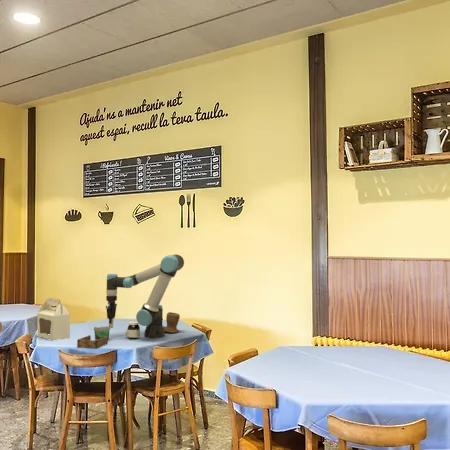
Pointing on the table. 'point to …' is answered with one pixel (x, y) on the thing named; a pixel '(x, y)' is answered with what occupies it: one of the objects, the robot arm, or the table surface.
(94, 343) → the walnut pen
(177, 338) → the table surface
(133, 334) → the spread jar
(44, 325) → the gable box
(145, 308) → the robot arm
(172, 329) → the brown ankle boot
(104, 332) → the food container
